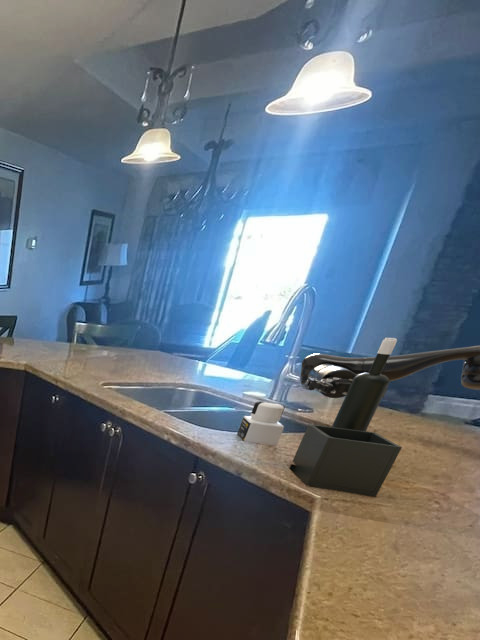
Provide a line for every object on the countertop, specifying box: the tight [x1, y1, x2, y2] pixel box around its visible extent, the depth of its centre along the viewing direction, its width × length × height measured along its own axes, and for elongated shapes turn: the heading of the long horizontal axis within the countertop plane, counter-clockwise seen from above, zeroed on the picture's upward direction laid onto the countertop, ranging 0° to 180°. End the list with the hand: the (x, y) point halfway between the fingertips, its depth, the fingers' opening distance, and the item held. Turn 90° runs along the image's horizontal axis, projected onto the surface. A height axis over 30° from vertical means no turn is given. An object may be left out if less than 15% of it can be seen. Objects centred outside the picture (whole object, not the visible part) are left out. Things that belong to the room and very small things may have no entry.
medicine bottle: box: [236, 400, 286, 447], centre depth 128 cm, size 7×7×12 cm
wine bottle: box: [331, 337, 398, 431], centre depth 113 cm, size 6×6×30 cm
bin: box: [288, 423, 403, 498], centre depth 106 cm, size 11×11×11 cm
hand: (353, 392), depth 118 cm, fingers open, 8 cm apart
